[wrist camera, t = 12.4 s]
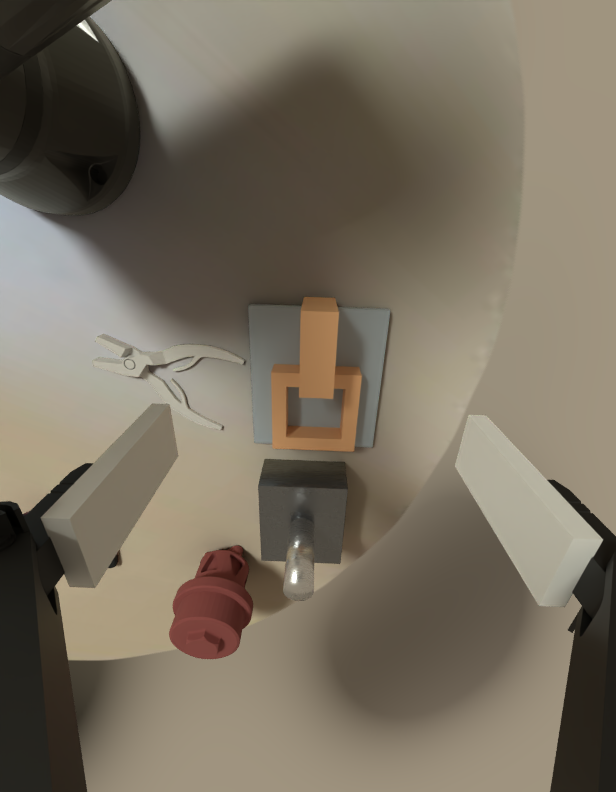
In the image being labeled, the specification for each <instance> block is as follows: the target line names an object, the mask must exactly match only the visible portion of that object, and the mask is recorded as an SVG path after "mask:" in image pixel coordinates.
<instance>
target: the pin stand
mask: <svg viewBox="0 0 616 792" xmlns="http://www.w3.org/2000/svg"><path fill="white" fill-rule="evenodd" d="M258 491H259V514H260V537H261V560H263V561H286V565H285V575H284V585H283V593H284V595H285V596H286V597H287V598H289V599H291V600H295V601H303V600H307V599H309V598H310V597H311V596H312V595H313V593H314V563H334V564H340V562H341V552H342V542H343V532H344V522H345V512H346V502H347V492H348V487H347V479H346V470H345V462H327V461H301V460H276V459H265V460H264V464H263V468H262V472H261V476H260V481H259V485H258Z"/></svg>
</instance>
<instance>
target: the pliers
mask: <svg viewBox="0 0 616 792" xmlns="http://www.w3.org/2000/svg"><path fill="white" fill-rule="evenodd" d="M95 342H97V343H99V344H100V345H102V346H104V347H105V348H107V349H108V350H110V351H112V352H113V353H115V354H116V355H118V356H120V357H126V358H124V359H123V360H119V359H111V358H103V357H98V358H96V359H94V360H93V361H92V364H93V366H94V367H98V368H101V369H104V370H108V371H111V372H114V373H117V374H121V375H125V376H133V377H141V378H143V379H144V380H146V381H147V382H148V383H149V384H150V385H151V386H152V387H153V388H154V389H155V391H156V392H157V393H158V395H159V396H160V398H161V399H162V400H163V401H164V402H165V403H166V404H170V407H171V408H172V409H173V410H174V411H176V412H177V413H179V414H180V415H182V416H184V417H185V418H187V419H189V420H191V421H193V422H195V423H198V424H200V425H203V426H206V427H210V428H214V429H219V430H221V429H222V426H223V425H221V424H219V423H217V422H214V421H212V420H210V419H208V418H206V417H204V416H202V415H200V414H199V413H197V412H195V411H194V410H192V409H191V408H189V406H188V404H187V401H186V396H185V394H184V392H183V390H182V388H181V387H180V386H179V384H178V383H177V382H176V381H175V380H174V379H172V380H171V382H172V383H173V384H174V386H175V387H176V388H177V389H178V391H179V393H180V395H181V401H180V400H179V399H178V398H177V397H176V396H175V395H174V394H173V392H172V391H171V390H170V388H169V387H168V385H167V384H166V383H165V381H164V380H163V379H161V378H159V377H158V376H156V375H155V374H153V373H151V372H150V371H149V365H161V364H167V363H170V362H172V361H175V360H178V359H181V358H184V357H192V356H194V358H193V359H192V361H191V362H190V363H189V364H188V365H186V366H183V367H179V368H174V369H173V371H181V370H184V369H187V368H189V367H190V366H192V365H193V364H194V363H195V362H196V361H197V360H198V359H199V358H201V357H211V358H218V359H223V360H227V361H231V362H235V363H239V364H242V365H243V364H244V361H245V360H244V359H243V358H241V357H239V356H237V355H235V354H233V353H231V352H229V351H226V350H223V349H221V348H217V347H213V346H208V345H201V344H182V345H176V346H173V347H170V348H168V349H166V350H163V351H157V352H142V351H140V350H138V349H137V348H135V347H134V346H131V345H129V344H126V343H124V342H122V341H119V340H117V339H115V338H112V337H110V336H108V335H105V334H102V335H100V336H98V337H97V338H96V340H95Z"/></svg>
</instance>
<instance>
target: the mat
mask: <svg viewBox="0 0 616 792" xmlns="http://www.w3.org/2000/svg"><path fill="white" fill-rule="evenodd" d="M301 307H302V306H298V305H269V304H249V305H248V316H249V338H250V359H251V381H252V402H253V424H254V443H269V444H272V392H271V371H272V368H273V366H274V364H291V365H300V318H301ZM338 310H339V320H338V335H337V350H336V365H335V366H346V367H359V368H360V371H361V374H362V380H361V389H360V399H359V408H358V418H357V427H356V437H355V447H373V439H374V432H375V424H376V417H377V409H378V401H379V394H380V386H381V378H382V371H383V363H384V356H385V348H386V340H387V333H388V325H389V318H390V310H389V309H387V308H357V307H338ZM342 396H343V389H334V394H333V399H324V398H299V387H288V426H307V427H333V428H340V421H341V409H342Z"/></svg>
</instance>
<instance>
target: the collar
mask: <svg viewBox="0 0 616 792" xmlns="http://www.w3.org/2000/svg"><path fill="white" fill-rule="evenodd" d="M338 320H339V310H338V307H337V303H336V300H335V298H324V297H304V299H303V303H302V307H301V318H300V365H291V364H274V366H273V368H272V371H271V392H272V445H273V448H275V449H300V450H326V451H351V452H354V447H355V437H356V427H357V418H358V408H359V399H360V389H361V380H362V374H361V371H360V368H359V367H346V366H335V365H336V350H337V335H338ZM288 387H299V398H324V399H333V394H334V389H343V396H342V409H341V421H340V428H333V427H307V426H288Z"/></svg>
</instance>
